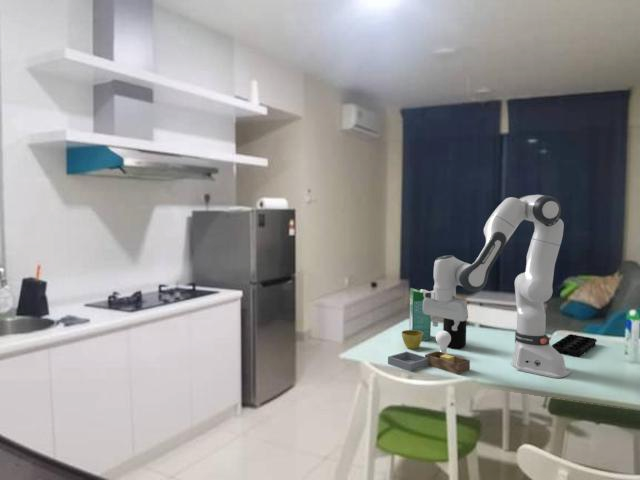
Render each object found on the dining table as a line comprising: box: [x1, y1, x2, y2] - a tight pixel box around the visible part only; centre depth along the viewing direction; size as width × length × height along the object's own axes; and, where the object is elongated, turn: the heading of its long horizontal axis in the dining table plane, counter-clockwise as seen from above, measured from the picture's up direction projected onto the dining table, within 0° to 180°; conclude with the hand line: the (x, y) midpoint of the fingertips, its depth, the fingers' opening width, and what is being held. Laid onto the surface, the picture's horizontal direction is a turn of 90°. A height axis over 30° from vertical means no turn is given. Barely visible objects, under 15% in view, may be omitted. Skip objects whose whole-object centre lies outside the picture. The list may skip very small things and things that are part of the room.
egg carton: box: [551, 333, 598, 358], centre depth 226 cm, size 18×30×4 cm, turn 149°
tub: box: [387, 351, 429, 372], centre depth 199 cm, size 12×12×4 cm
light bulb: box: [435, 330, 451, 354], centre depth 214 cm, size 7×7×11 cm
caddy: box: [424, 350, 471, 375], centre depth 196 cm, size 16×8×4 cm, turn 40°
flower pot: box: [401, 329, 423, 350], centre depth 225 cm, size 10×10×7 cm
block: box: [440, 353, 455, 363], centre depth 196 cm, size 4×4×4 cm
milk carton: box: [408, 287, 432, 341], centre depth 242 cm, size 9×9×25 cm
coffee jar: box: [442, 318, 468, 350], centre depth 228 cm, size 11×11×18 cm
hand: (444, 328), depth 196 cm, fingers open, 8 cm apart
